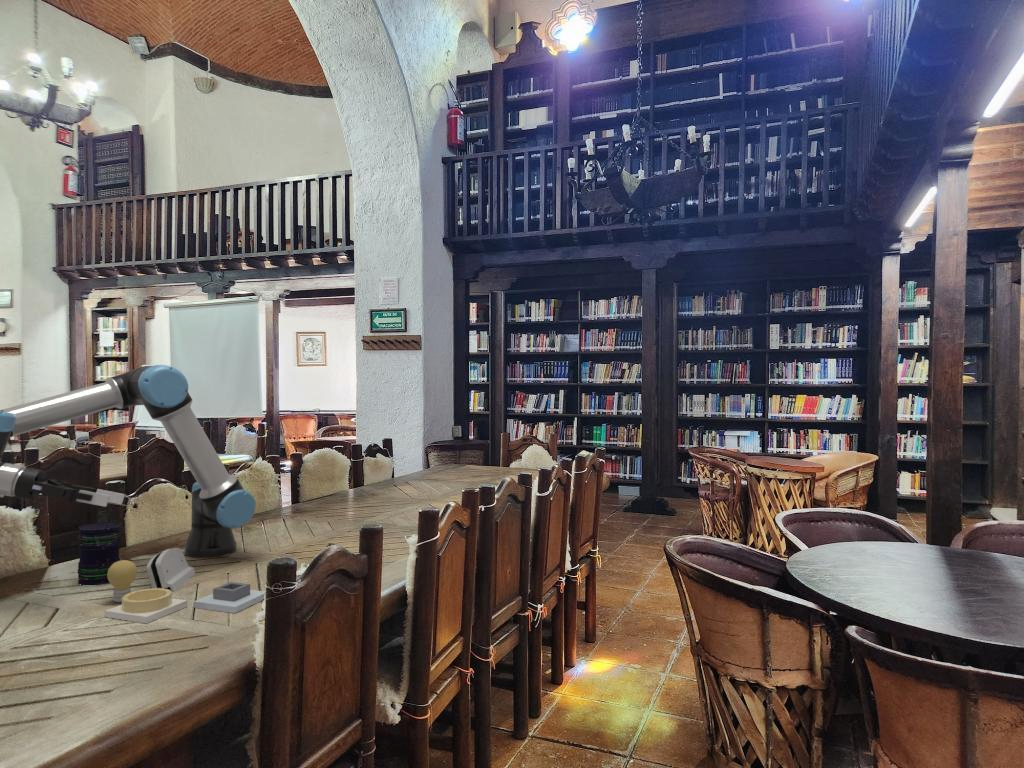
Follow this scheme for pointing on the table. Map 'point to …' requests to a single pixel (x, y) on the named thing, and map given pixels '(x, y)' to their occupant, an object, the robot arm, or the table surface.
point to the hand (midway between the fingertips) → (116, 500)
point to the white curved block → (169, 569)
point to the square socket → (230, 598)
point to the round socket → (146, 605)
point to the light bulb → (121, 578)
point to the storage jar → (98, 551)
